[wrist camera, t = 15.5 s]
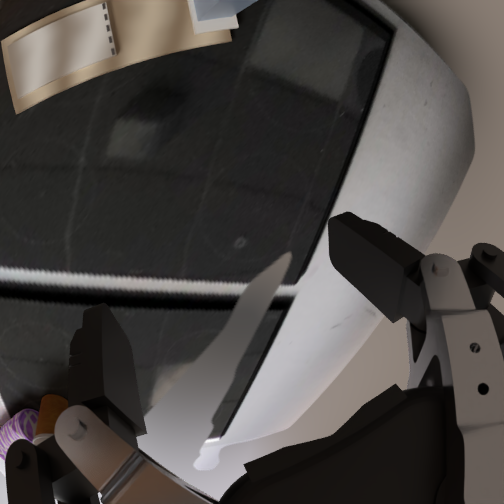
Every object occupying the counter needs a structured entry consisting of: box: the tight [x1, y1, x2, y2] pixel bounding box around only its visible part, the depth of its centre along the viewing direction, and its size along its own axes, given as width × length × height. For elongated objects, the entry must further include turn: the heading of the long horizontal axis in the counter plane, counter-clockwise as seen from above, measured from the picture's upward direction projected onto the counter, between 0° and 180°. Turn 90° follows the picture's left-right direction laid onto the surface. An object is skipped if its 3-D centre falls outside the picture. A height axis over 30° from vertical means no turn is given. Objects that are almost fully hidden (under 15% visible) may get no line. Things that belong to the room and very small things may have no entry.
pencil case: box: [0, 409, 39, 460], centre depth 40 cm, size 22×9×9 cm, turn 125°
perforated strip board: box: [1, 0, 232, 114], centre depth 23 cm, size 26×10×2 cm, turn 101°
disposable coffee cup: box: [33, 394, 68, 445], centre depth 40 cm, size 10×10×12 cm
